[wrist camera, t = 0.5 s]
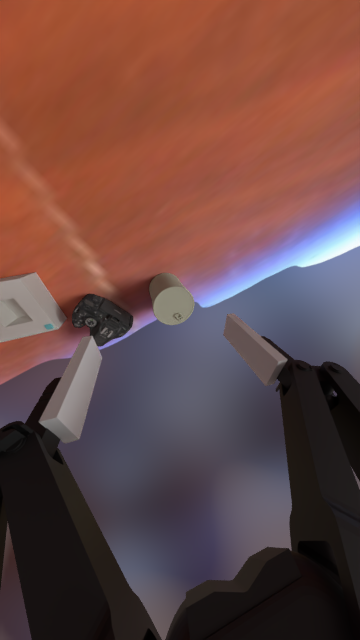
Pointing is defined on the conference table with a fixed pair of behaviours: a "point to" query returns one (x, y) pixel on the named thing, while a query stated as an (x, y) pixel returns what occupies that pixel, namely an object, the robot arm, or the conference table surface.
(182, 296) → the can
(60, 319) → the port panel
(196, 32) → the conference table surface
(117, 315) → the camera
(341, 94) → the conference table surface
